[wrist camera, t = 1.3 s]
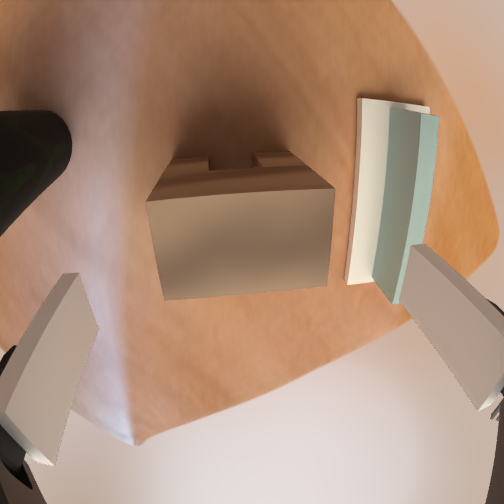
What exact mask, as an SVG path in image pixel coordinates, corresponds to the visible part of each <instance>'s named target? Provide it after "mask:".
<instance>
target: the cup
mask: <svg viewBox="0 0 504 504" xmlns="http://www.w3.org/2000/svg"><path fill="white" fill-rule="evenodd" d="M71 153H72V140H71V134H70V132H69V129H68V126H67V125H66V123H65V122H64V121H63V119H62V118H61V117H59V116H58V115H57V114H55V113H53V112H51V111H44V110H23V111H0V237H1V235H2V234H3V233H4V232H5V231H6V230H7V229H8V227H9V226H10V225H11V224H12V223H13V222H14V221H15V220H16V219H17V218H18V217H19V216H20V214H21V213H22V212H23V211H24V210H25V209H26V208H27V207H28V206H29V205H30V204H31V203H32V202H33V201H34V200H35V199H36V198H37V197H38V196H39V195H40V194H41V193H42V192H43V191H44V190H45V189H46V188H47V187H48V186H49V185H51V184H52V183H53V182H54V181H55V180H56V179H57V178H58V177H59V176H60V175H61V174H62V173H63V172H64V170H65V169H66V167H67V165H68V163H69V161H70V157H71Z"/></svg>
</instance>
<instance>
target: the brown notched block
mask: <svg viewBox="0 0 504 504" xmlns="http://www.w3.org/2000/svg"><path fill="white" fill-rule="evenodd" d="M253 162H254V168H237V169H223V170H210V166H209V156H199V157H188V158H178V159H172V160H171V162H170V163H169V165H168V166H167V168H166V169H165V171H164V173H163V174H162V176H161V177H160V179H159V181H158V182H157V184H156V185H155V187H154V189H153V190H152V192H151V194H150V195H149V197H148V199H147V200H146V207H147V213H148V219H149V225H150V231H151V237H152V242H153V247H154V253H155V258H156V263H157V268H158V273H159V278H160V282H161V287H162V292H163V296H164V301H165V300H180V299H194V298H207V297H219V296H231V295H243V294H254V293H265V292H275V291H285V290H295V289H304V288H313V287H322V286H327V282H328V272H329V262H330V251H331V240H332V228H333V214H334V199H335V188H334V187H333V186H331V185H330V184H329V183H328V182H327V181H326V180H324V179H323V178H322V177H321V176H320V175H318V174H317V173H316V172H315V171H313V170H312V169H311V168H310V167H309V166H307V165H306V164H305V163H304V162H302V161H301V160H300V159H299V158H297V157H296V156H295V155H293V154H292V153H291V152H290V151H283V152H257V153H253Z"/></svg>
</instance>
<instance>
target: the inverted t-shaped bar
mask: <svg viewBox="0 0 504 504" xmlns="http://www.w3.org/2000/svg"><path fill="white" fill-rule="evenodd" d="M438 127H439V116H435V115H430V107H426V106H420V105H413V104H407V103H400V102H392V101H384V100H375V99H365V98H357V138H356V160H355V177H354V191H353V203H352V215H351V225H350V235H349V244H348V253H347V261H346V269H345V276H344V281H345V282H346V284H347V285H352V284H360V283H367V282H376V284H377V285H378V286H379V288H380V289H381V290H382V292H383V293H384V294H385V296H386V297H387V298H388V300H389V301H390V303H391V304H392V305H393V304H399V303H400V301H399V297H400V293H401V288H402V284H403V280H404V275H405V271H406V266H407V262H408V257H409V252H410V246H411V245H417V244H422V243H423V238H424V233H425V228H426V222H427V217H428V211H429V205H430V199H431V192H432V185H433V178H434V170H435V161H436V151H437V140H438Z"/></svg>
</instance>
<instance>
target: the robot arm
mask: <svg viewBox="0 0 504 504" xmlns="http://www.w3.org/2000/svg"><path fill="white" fill-rule="evenodd" d="M399 301H400V303H401V304H402V305H403V307H404V308H405V309H406V310H407V312H408V313H409V314H410V316H411V317H412V318H413V320H414V321H415V322H416V324H417V325H418V326H419V328H420V329H421V330H422V332H423V333H424V334H425V336H426V337H427V338H428V340H429V341H430V342H431V344H432V345H433V346H434V348H435V349H436V351H437V352H438V353H439V355H440V356H441V358H442V359H443V360H444V362H445V363H446V365H447V366H448V368H449V369H450V370H451V372H452V373H453V375H454V376H455V378H456V379H457V381H458V382H459V384H460V385H461V387H462V388H463V390H464V391H465V393H466V394H467V396H468V397H469V398H470V400H471V402H472V403H473V405H474V406H475V408H476V409H477V411H479V410H481V409H483V408H485V407H487V406H489V405H491V404H492V403H493V402H494V401H495V399H496V398H497V396H498V395H499V393H500V392H501V393H502V395H503V396H504V312H503V311H502V310H501V309H500V308H499V307H498V306H497V305H496V304H494V303H493V302H491V301H489V300H488V299H486V298H485V297H484V296H483V295H481V293H479V292H478V291H477V290H476V289H475V288H474V287H473V286H472V285H471V284H470V283H469V282H468V281H467V280H466V279H465V278H463V277H462V276H461V275H460V274H459V273H458V272H457V271H456V270H455V269H454V268H452V267H451V266H450V265H449V264H448V263H447V262H446V261H444V260H443V259H442V258H441V257H440V256H439V255H438V254H436V253H435V252H434V251H433V250H432V249H431V248H429V247H428V246H427V245H426V244H417V245H411V246H410V252H409V257H408V262H407V266H406V271H405V275H404V280H403V284H402V288H401V293H400V297H399ZM98 329H99V328H98V325H97V323H96V320H95V318H94V315H93V312H92V309H91V307H90V304H89V301H88V298H87V295H86V292H85V289H84V286H83V283H82V280H81V277H80V274H79V273H68V274H63V275H62V276H61V277H60V279H59V280H58V282H57V283H56V285H55V286H54V288H53V289H52V290H51V292H50V293H49V295H48V296H47V298H46V299H45V301H44V303H43V304H42V306H41V307H40V309H39V310H38V312H37V313H36V315H35V317H34V318H33V320H32V321H31V323H30V325H29V326H28V328H27V330H26V331H25V333H24V335H23V336H22V338H21V340H20V342H19V343H18V345H17V346H16V345H14V346H13V347H12V348H11V349H10V350H9V351H8V352H7V353H6V354H5V355H4V356H3V358H2V360H1V362H0V504H47V503H46V502H45V500H44V498H43V496H42V494H41V492H40V490H39V487H38V485H37V483H36V481H35V479H34V477H33V475H32V472H31V470H30V468H29V466H28V464H27V463H26V461H25V460H24V457H25V454H26V453H27V454H28V455H29V456H30V457H31V458H33V460H35V461H36V462H39V463H43V464H48V465H52V466H55V464H56V460H57V456H58V452H59V448H60V444H61V441H62V437H63V433H64V430H65V426H66V423H67V419H68V416H69V413H70V409H71V406H72V403H73V400H74V397H75V394H76V391H77V387H78V384H79V381H80V379H81V376H82V373H83V370H84V367H85V364H86V361H87V359H88V356H89V353H90V350H91V348H92V345H93V342H94V340H95V337H96V335H97V332H98ZM498 412H500V415H499V416H498V417H497V419H496V420H497V421H499V426H498V436H497V444H496V452H495V459H494V465H493V471H492V476H491V481H490V486H489V491H488V495H487V499H486V503H485V504H504V398H503V400H502V401H501V402H500V404H499V405H498V406H497V408H496V409H495V410H494V412H493V413H492V414H491V418H490V419H493V418H494V417H495V416H496V414H497V413H498Z"/></svg>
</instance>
